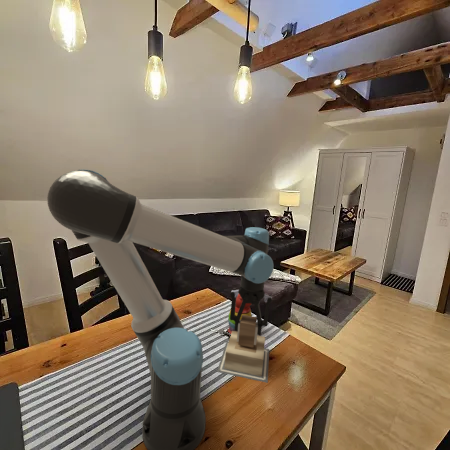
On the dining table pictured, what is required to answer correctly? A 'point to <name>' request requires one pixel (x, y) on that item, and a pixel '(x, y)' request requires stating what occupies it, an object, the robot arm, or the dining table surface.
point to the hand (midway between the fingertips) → (246, 340)
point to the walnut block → (247, 331)
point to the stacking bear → (245, 312)
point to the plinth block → (245, 356)
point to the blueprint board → (245, 375)
